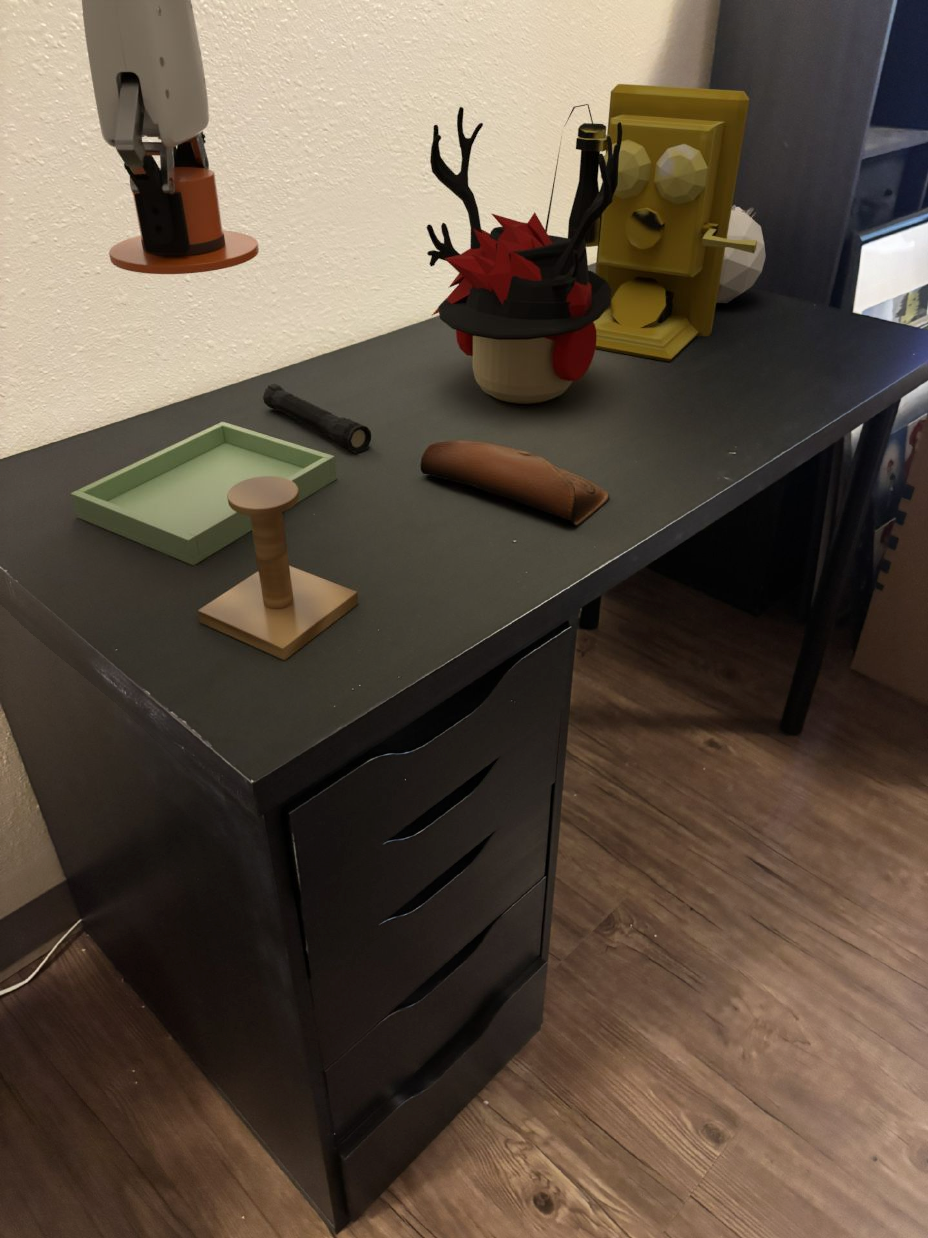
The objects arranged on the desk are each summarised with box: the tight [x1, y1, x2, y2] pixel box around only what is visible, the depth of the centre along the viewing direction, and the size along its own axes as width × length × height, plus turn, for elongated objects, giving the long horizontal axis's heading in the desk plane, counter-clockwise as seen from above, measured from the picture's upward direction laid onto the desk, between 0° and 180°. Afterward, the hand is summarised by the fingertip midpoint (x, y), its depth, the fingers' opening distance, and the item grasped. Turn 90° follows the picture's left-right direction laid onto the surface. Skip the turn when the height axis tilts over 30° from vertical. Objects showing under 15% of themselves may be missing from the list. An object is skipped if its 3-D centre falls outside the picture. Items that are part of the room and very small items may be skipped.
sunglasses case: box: [420, 440, 610, 526], centre depth 90 cm, size 18×7×7 cm
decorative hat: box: [426, 106, 622, 405], centre depth 103 cm, size 23×21×30 cm
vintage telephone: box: [544, 83, 757, 363], centre depth 119 cm, size 31×14×30 cm, turn 61°
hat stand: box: [197, 476, 359, 661], centre depth 70 cm, size 9×9×11 cm
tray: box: [70, 421, 337, 566], centre depth 89 cm, size 20×16×3 cm
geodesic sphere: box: [716, 204, 767, 304], centre depth 138 cm, size 15×14×14 cm
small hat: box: [108, 167, 260, 275], centre depth 68 cm, size 11×11×6 cm
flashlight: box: [262, 383, 372, 454], centre depth 102 cm, size 3×16×3 cm, turn 44°
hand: (182, 237), depth 69 cm, fingers closed on small hat, 6 cm apart
